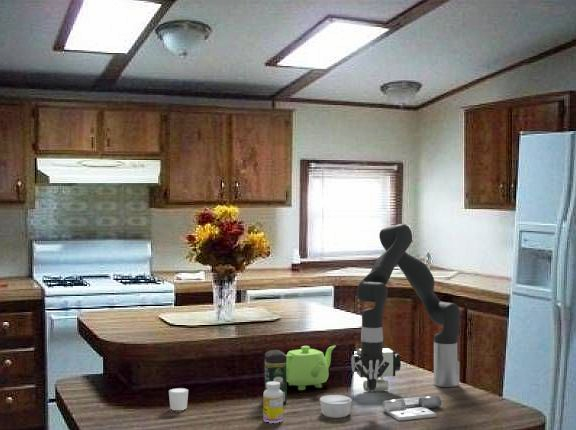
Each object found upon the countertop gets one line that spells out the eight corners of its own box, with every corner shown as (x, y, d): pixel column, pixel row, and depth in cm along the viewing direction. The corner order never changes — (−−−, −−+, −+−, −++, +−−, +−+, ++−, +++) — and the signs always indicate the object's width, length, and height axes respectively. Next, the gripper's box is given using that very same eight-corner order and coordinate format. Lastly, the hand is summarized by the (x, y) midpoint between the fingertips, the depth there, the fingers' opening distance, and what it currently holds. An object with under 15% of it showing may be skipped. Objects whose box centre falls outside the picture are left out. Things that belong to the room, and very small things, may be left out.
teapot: (297, 397, 266) (297, 355, 266) (272, 384, 285) (272, 345, 285) (353, 389, 278) (353, 349, 278) (325, 377, 297) (325, 339, 297)
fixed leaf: (425, 399, 263) (425, 388, 263) (442, 408, 251) (442, 397, 251) (390, 402, 258) (390, 392, 258) (405, 412, 247) (405, 400, 247)
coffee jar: (263, 398, 265) (263, 348, 265) (283, 396, 267) (283, 347, 266) (267, 405, 256) (267, 354, 255) (288, 404, 257) (288, 353, 257)
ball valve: (395, 387, 280) (395, 343, 280) (401, 393, 272) (401, 347, 272) (350, 389, 278) (350, 344, 278) (355, 394, 270) (355, 348, 269)
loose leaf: (418, 407, 253) (418, 395, 253) (435, 416, 241) (435, 405, 241) (382, 410, 248) (382, 399, 248) (398, 420, 237) (398, 408, 237)
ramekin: (342, 421, 237) (342, 405, 237) (313, 415, 243) (313, 400, 243) (357, 412, 247) (357, 397, 247) (329, 407, 253) (329, 393, 253)
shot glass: (191, 408, 252) (191, 388, 252) (182, 413, 246) (182, 393, 245) (174, 406, 254) (174, 387, 254) (165, 411, 248) (165, 391, 248)
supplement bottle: (262, 418, 240) (262, 380, 240) (282, 417, 240) (282, 380, 240) (263, 424, 233) (263, 385, 233) (283, 423, 234) (283, 385, 234)
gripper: (384, 336, 250) (384, 385, 250) (350, 338, 246) (349, 388, 246) (394, 340, 243) (393, 390, 243) (358, 342, 239) (358, 393, 239)
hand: (371, 389), depth 245 cm, fingers closed
